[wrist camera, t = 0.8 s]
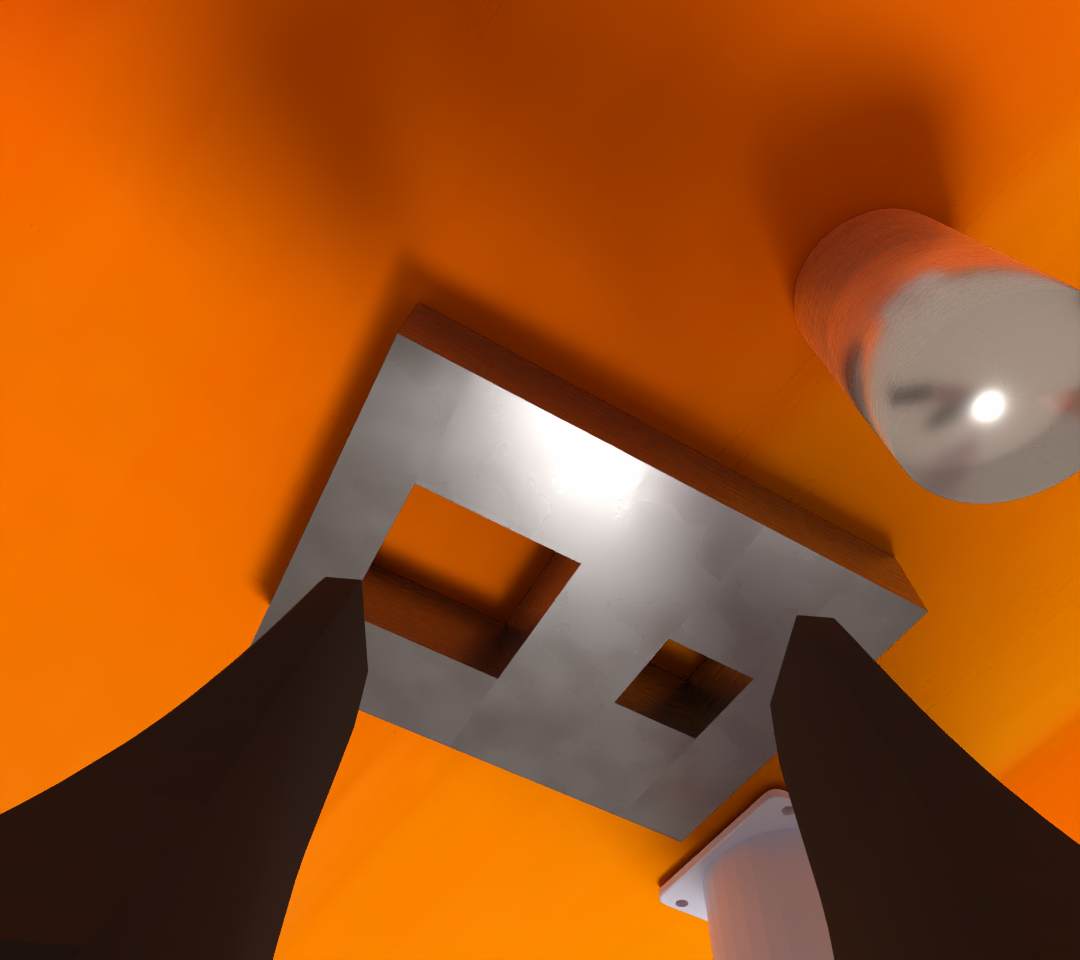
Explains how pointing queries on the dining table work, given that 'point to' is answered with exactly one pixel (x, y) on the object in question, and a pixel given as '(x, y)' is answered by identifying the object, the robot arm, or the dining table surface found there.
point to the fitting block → (581, 583)
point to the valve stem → (948, 353)
